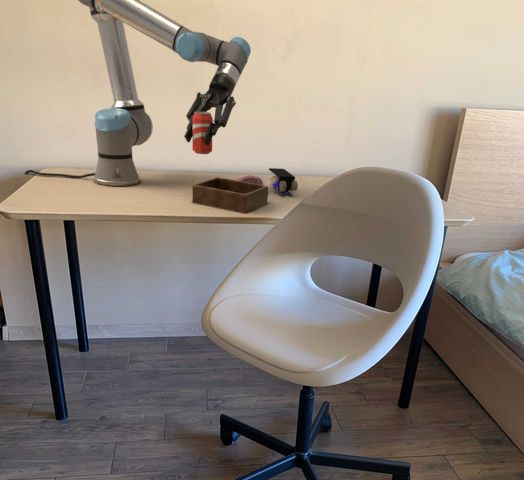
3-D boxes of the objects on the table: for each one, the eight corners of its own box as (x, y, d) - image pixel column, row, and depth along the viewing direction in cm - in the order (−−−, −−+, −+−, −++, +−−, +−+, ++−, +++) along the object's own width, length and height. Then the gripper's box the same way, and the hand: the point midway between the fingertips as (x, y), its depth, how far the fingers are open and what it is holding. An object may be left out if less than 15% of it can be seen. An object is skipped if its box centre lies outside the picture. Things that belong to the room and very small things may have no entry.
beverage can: (206, 150, 169) (206, 111, 163) (215, 154, 165) (216, 113, 158) (189, 151, 166) (189, 111, 160) (198, 155, 162) (198, 113, 155)
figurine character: (297, 201, 182) (282, 186, 193) (300, 179, 177) (284, 166, 188) (280, 201, 180) (265, 186, 191) (283, 180, 175) (267, 166, 186)
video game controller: (235, 196, 183) (238, 180, 177) (233, 187, 185) (235, 171, 179) (262, 196, 185) (265, 180, 179) (259, 187, 188) (262, 171, 182)
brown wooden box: (192, 202, 165) (192, 184, 163) (217, 193, 178) (217, 177, 175) (245, 213, 158) (246, 195, 156) (267, 203, 171) (268, 186, 168)
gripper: (194, 70, 165) (165, 128, 160) (247, 75, 158) (218, 136, 154) (203, 88, 172) (175, 144, 167) (253, 94, 165) (226, 153, 160)
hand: (196, 140), depth 160 cm, fingers closed on beverage can, 6 cm apart
